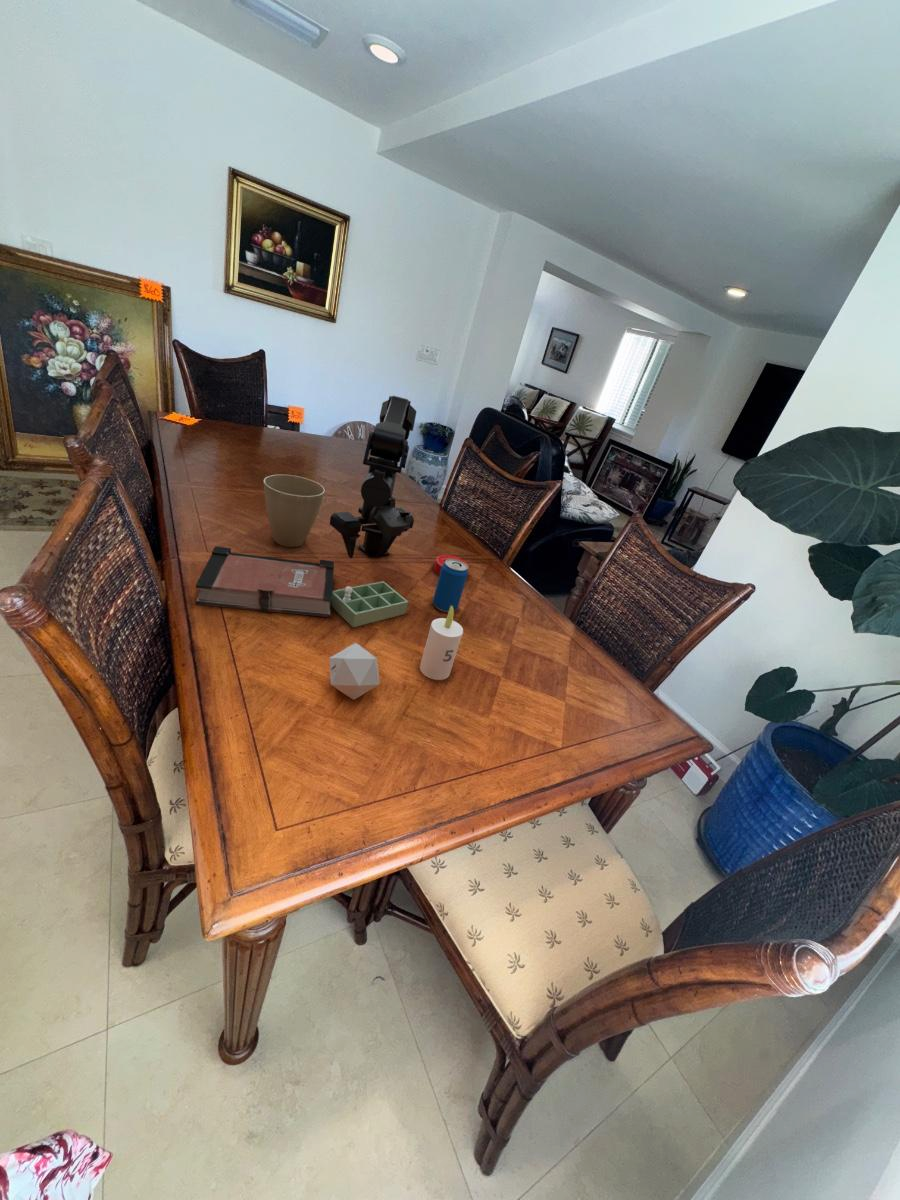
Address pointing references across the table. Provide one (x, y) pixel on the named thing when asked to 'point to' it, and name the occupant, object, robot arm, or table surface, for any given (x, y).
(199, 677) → the table surface
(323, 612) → the book
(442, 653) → the candle
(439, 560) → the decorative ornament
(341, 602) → the grid
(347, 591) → the chess pawn
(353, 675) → the die
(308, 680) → the table surface
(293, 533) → the plant pot
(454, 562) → the beverage can
